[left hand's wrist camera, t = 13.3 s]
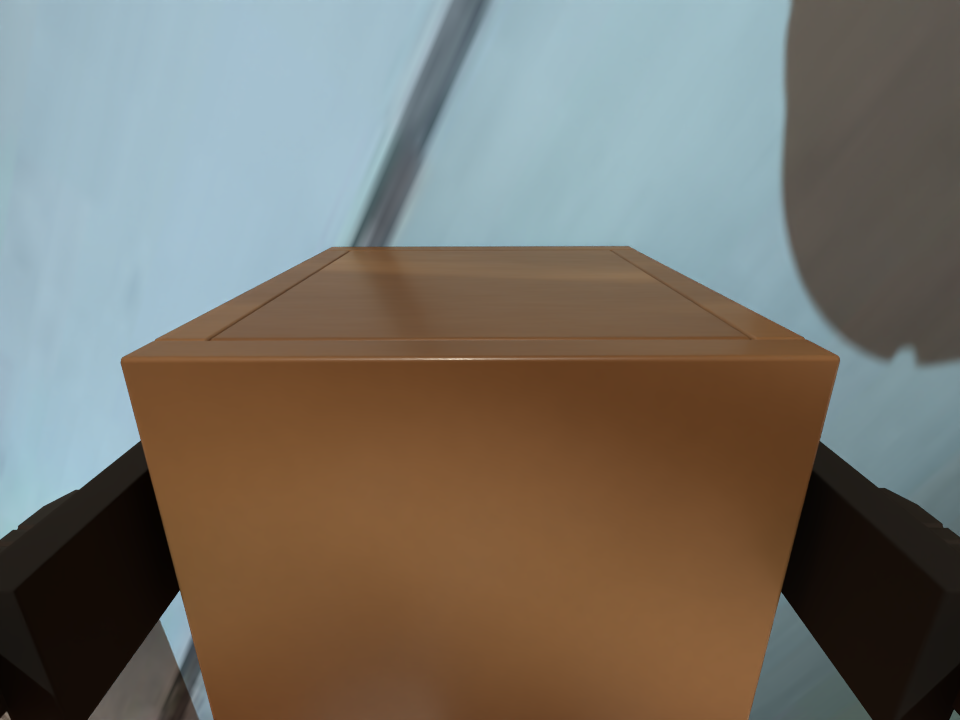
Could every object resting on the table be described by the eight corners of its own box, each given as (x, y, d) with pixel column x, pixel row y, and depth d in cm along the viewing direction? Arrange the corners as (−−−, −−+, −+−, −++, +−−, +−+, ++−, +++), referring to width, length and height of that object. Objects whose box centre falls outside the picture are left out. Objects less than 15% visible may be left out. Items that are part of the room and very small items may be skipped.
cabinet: (593, 620, 24) (683, 980, 13) (369, 620, 24) (280, 980, 13) (629, 245, 18) (844, 355, 7) (330, 246, 18) (116, 357, 7)
